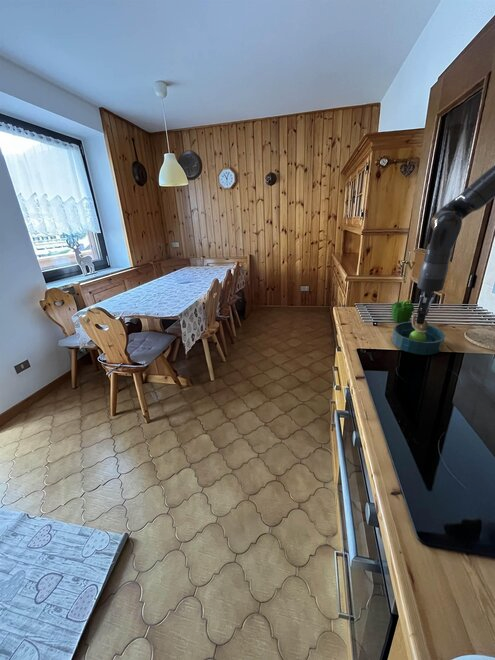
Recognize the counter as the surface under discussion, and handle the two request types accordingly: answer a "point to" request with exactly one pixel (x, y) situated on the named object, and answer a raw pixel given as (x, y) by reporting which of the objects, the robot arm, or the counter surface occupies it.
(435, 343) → the bowl
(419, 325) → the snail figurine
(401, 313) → the bell pepper
